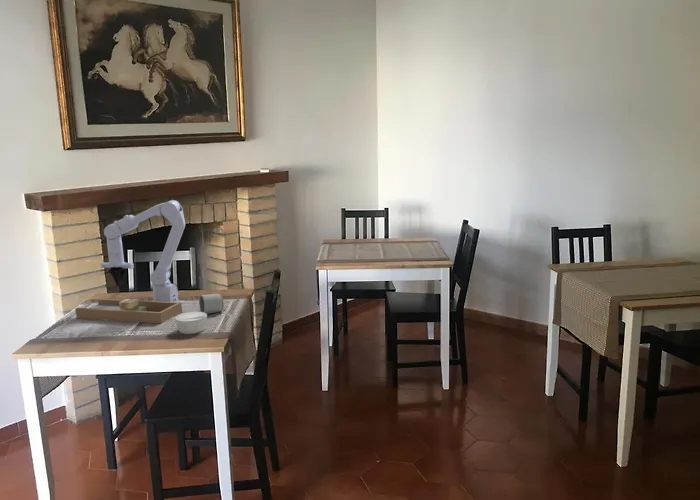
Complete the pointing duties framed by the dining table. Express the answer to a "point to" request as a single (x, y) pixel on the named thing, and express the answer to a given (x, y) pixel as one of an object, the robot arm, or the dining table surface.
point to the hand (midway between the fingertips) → (119, 285)
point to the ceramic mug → (211, 303)
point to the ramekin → (191, 322)
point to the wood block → (129, 304)
